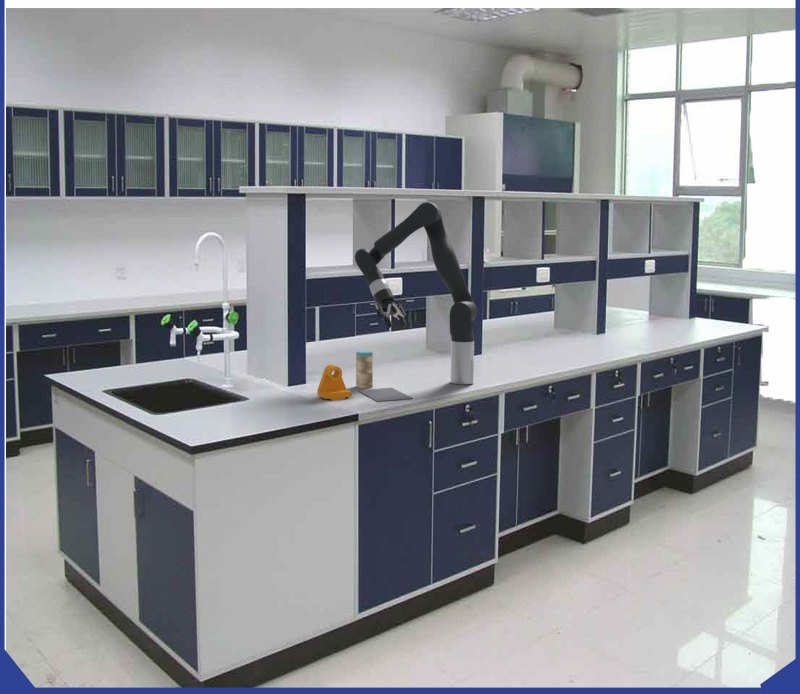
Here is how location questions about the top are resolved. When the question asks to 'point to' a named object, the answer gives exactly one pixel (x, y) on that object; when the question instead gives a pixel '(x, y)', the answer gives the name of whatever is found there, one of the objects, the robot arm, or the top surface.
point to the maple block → (364, 369)
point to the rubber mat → (385, 394)
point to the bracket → (332, 384)
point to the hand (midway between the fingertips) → (397, 326)
